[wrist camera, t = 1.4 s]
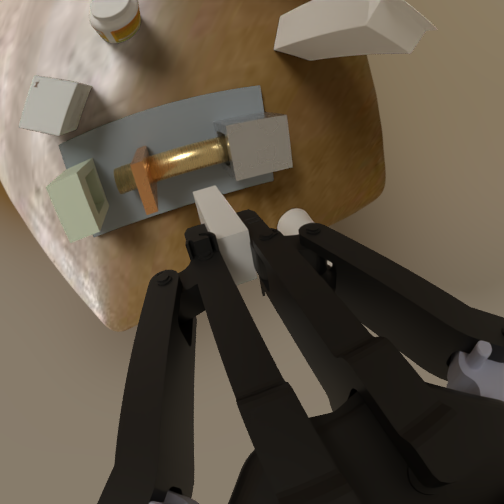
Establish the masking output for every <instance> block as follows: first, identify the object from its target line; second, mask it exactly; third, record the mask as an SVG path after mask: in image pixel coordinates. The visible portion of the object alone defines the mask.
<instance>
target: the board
mask: <svg viewBox="0 0 504 504" xmlns="http://www.w3.org/2000/svg"><path fill="white" fill-rule="evenodd" d="M260 112H264V108H263V101H262V95H261V89H260V85H259V86H251V87H244V88H238V89H232V90H226V91H221V92H215V93H210V94H206V95H201V96H197V97H192V98H188V99H184V100H180V101H176V102H172V103H169V104H165V105H161V106H158V107H155V108H151V109H148V110H145V111H142V112H139V113H136V114H133V115H130V116H127V117H124V118H121V119H118V120H116V121H113V122H110V123H108V124H105V125H103V126H100V127H98V128H95V129H93V130H90V131H88V132H86V133H84V134H81V135H79V136H77V137H75V138H72V139H70V140H68V141H66V142H64V143H62V144H60V145H59V148H60V151H61V154H62V157H63V160H64V163H65V166H66V169H68V168H70V167H73V166H75V165H77V164H79V163H82V162H84V161H86V160H88V159H91V158H93V161H94V164H95V167H96V170H97V173H98V176H99V179H100V182H101V185H102V188H103V190H104V193H105V196H106V199H107V201H108V204H109V208H108V211H107V213H106V216H105V219H104V221H103V224H102V227H101V230H100V232H98V233H95V234H93V237H96V236H99V235H102V234H104V233H107V232H109V231H112V230H115V229H118V228H120V227H123V226H126V225H129V224H131V223H134V222H137V221H140V220H143V219H146V218H149V217H152V216H155V215H158V214H161V213H164V212H167V211H170V210H173V209H176V208H179V207H182V206H185V205H189V204H192V203H195V199H194V195H193V192H194V191H198V190H201V189H204V188H208V187H211V186H215V185H216V187H217V188H218V190H219V191H220V192H221V194H226V193H229V192H233V191H236V190H240V189H244V188H247V187H251V186H255V185H259V184H262V183H266V182H270V181H274V179H273V172H271V173H266V174H262V175H258V176H254V177H250V178H247V179H243V180H239V181H235V180H234V179H233V178H232V177H231V176H230V175H229V174H228V173H227V172H226V171H225V170H224V169H223V168H222V164H221V163H220V164H216V165H213V166H209V167H205V168H202V169H198V170H195V171H191V172H188V173H184V174H181V175H178V176H175V177H171V178H168V179H165V180H162V181H159V182H157V195H158V212H155V213H152V214H149V215H146V212H145V209H144V206H143V203H142V200H141V197H140V194H139V191H138V189H135V190H132V191H130V192H127V193H124V194H120V193H119V191H118V189H117V186H116V183H115V179H114V172H113V171H114V169H115V168H118V167H120V166H123V165H126V164H129V163H131V162H132V160H133V157H134V155H135V152H136V150H137V148H140V147H143V146H147V150H148V153H149V156H152V155H155V154H158V153H161V152H165V151H168V150H171V149H175V148H178V147H181V146H185V145H189V144H192V143H196V142H200V141H204V140H208V139H212V138H216V135H215V130H214V125H213V122H214V121H219V120H223V119H228V118H233V117H238V116H243V115H248V114H254V113H260Z"/></svg>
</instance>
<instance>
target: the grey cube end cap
mask: <svg viewBox="0 0 504 504" xmlns="http://www.w3.org/2000/svg"><path fill="white" fill-rule="evenodd" d="M213 125H214V130H215V135H216V137H220V136H224V135H225V139H226V144H227V149H228V154H229V159H230V161H228V162H224V163H221V164H222V168H223V169H224V170H225V171H226V172H227V173H228V174H229V175H230V176H231V177H232V178H233V179H234V180H235V181H239V180H243V179H247V178H250V177H254V176H258V175H262V174H266V173H271V172H275V171H279V170H283V169H288V168H292V167H293V165H292V155H291V146H290V138H289V129H288V121H287V115H284V114H277V113H269V112H260V113H254V114H248V115H243V116H238V117H233V118H228V119H223V120H219V121H214V122H213Z"/></svg>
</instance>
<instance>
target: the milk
mask: <svg viewBox="0 0 504 504" xmlns="http://www.w3.org/2000/svg"><path fill="white" fill-rule="evenodd" d="M426 30H437V27H435V26H434V25H433V24H432V23H431V22H430V21H429V20H428V19H426V18H425V17H424V16H423V15H422V14H421V13H420V12H418V11H417V10H416V9H415V8H413V7H412V6H411V5H409V4H408V3H407V2H405V1H404V0H312V1H310V2H308V3H305V4H303V5H301V6H299V7H297V8H295V9H293V10H291V11H289V12H287V13H285V14H284V15H282V16H280V19H279V25H278V30H277V35H276V40H275V45H274V50H276V51H279V52H283V53H287V54H290V55H293V56H297V57H300V58H303V59H306V60H309V61H312V60H319V59H326V58H334V57H343V56H354V55H368V54H411V53H412V51H413V50H414V48H415V47H416V45H417V44H418V42H419V41H420V39H421V38H422V36H423V34H424V33H425V32H426Z"/></svg>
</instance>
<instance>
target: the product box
mask: <svg viewBox="0 0 504 504" xmlns="http://www.w3.org/2000/svg"><path fill="white" fill-rule="evenodd" d="M91 87H92V86H90V85H86V84H82V83H78V82H74V81H69V80H63V79H57V78H51V77H44V76H37V75H36V76H34V78H33V81H32V84H31V87H30V89H29V93H28V96H27V99H26V102H25V105H24V109H23V112H22V116H21V120H20V124H19V128H23V129H27V130H32V131H36V132H41V133H46V134H50V135H56V136H61V135H63V134H66V133H68V132H71V131H74V130H76V129H77V127H78V124H79V121H80V118H81V115H82V112H83V109H84V106H85V103H86V100H87V98H88V95H89V93H90V90H91Z"/></svg>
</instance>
